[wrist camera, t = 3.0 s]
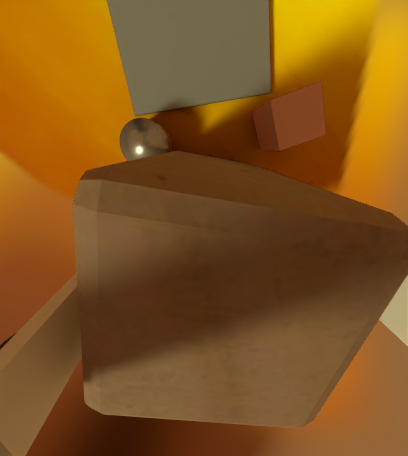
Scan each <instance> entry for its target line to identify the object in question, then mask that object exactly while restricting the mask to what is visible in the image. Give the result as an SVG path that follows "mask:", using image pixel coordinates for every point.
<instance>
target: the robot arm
mask: <svg viewBox="0 0 408 456" xmlns="http://www.w3.org/2000/svg"><path fill="white" fill-rule="evenodd" d="M379 320H380V321H382V322H383V323H384V324H385V325H386V326H387V327H388V328H389V329H390V330H391V331H392V332H393V333H394V334H395V335H396V336H397V337H398V338H399V339H401V340H402V341H403V342H404V343H405V344H406V345H407V346H408V275H407V277H406V278H405V280H404V281H403V283H402V284H401V286H400V288H399V289H398V291H397V292H396V294H395V295H394V297H393V298H392V300H391V301H390V303H389V304H388V306H387V308H386V309H385V311H384V312H383V314H382V315H381V317H380V318H379ZM81 357H82V349H81V333H80V317H79V301H78V285H77V273H76V274H75V275H74V276H73V277H72V278H71V279H70V280H69V281H68V282H67V283H66V284H65V285H64V286H63V287H62V288H61V289H60V290H59V291H58V292H57V293H56V294H55V295H54V296H53V297H52V298H51V299H50V300H49V301H48V302H47V303H46V304H45V305H44V306H43V307H42V308H41V309H40V310H39V311H38V312H37V313H36V314H35V315H34V316H33V317H32V318H31V319H30V320H29V321H28V322H27V323H26V324H25V325H24V326H23V328H21V329H20V330H19V331H18V332H17V333H16V334H14V335H13V336H11V337H10V338H9V339H7V340H6V341H5V342H4V343H2V345H0V456H25V455H26V454H27V452H28V450H29V448H30V447H31V445H32V443H33V441H34V439H35V437H36V436H37V434H38V432H39V431H40V429H41V427H42V425H43V424H44V422H45V420H46V418H47V417H48V415H49V413H50V411H51V410H52V408H53V406H54V404H55V402H56V401H57V399H58V397H59V395H60V394H61V392H62V390H63V388H64V387H65V385H66V383H67V381H68V380H69V378H70V376H71V374H72V373H73V371H74V369H75V367H76V365H77V363H78V362H79V360H80V358H81Z"/></svg>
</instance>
